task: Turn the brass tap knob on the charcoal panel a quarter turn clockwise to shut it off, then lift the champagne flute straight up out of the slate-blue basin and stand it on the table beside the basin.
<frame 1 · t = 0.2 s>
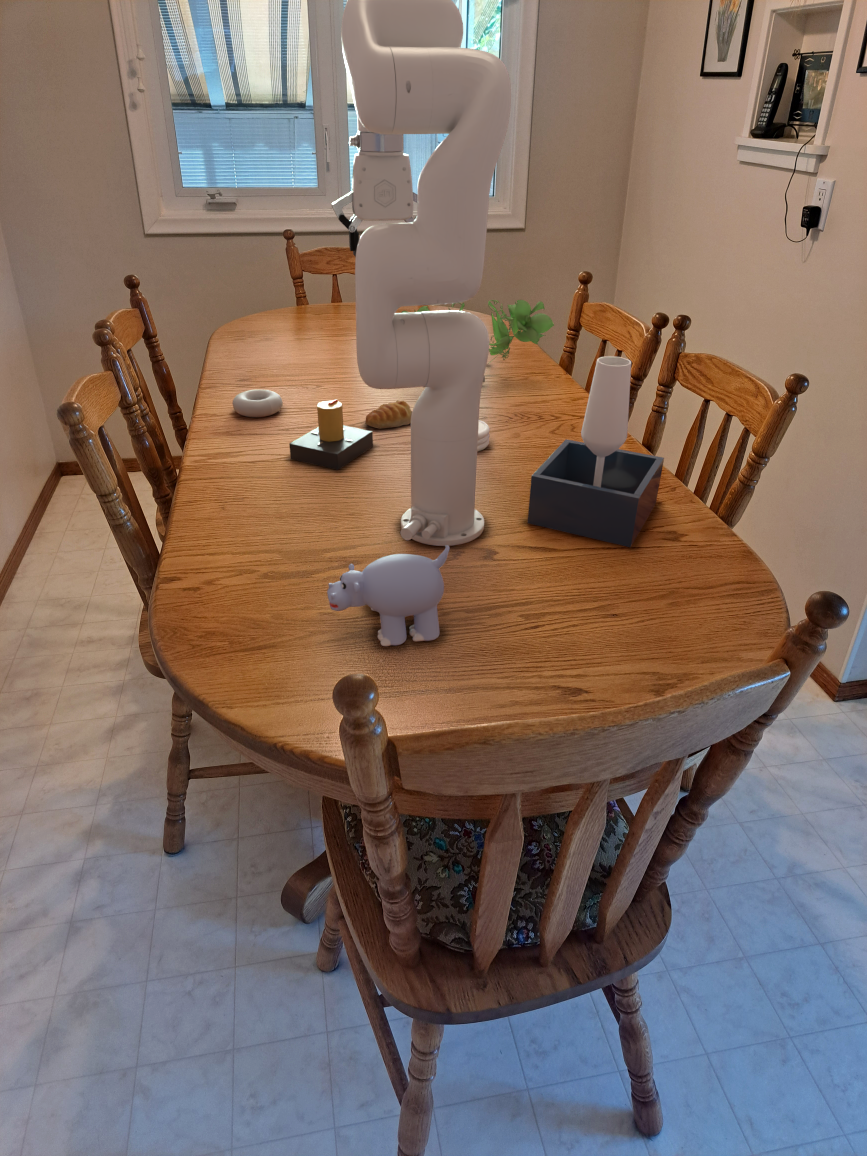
hand: (383, 254, 138), 31 cm above the table, tool pointing down, fingers open, 9 cm apart
basin: (593, 513, 122), on the table
champagne flute: (593, 514, 122), resting in basin
hippopotamus toy: (390, 621, 97), on the table
plant cuttings: (466, 380, 177), on the table
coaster: (462, 444, 145), on the table
donut: (258, 412, 159), on the table
tap knob: (330, 420, 138), point 6 cm above the table, hinge at 0.0°
pastry: (390, 423, 154), on the table
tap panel: (332, 452, 141), on the table
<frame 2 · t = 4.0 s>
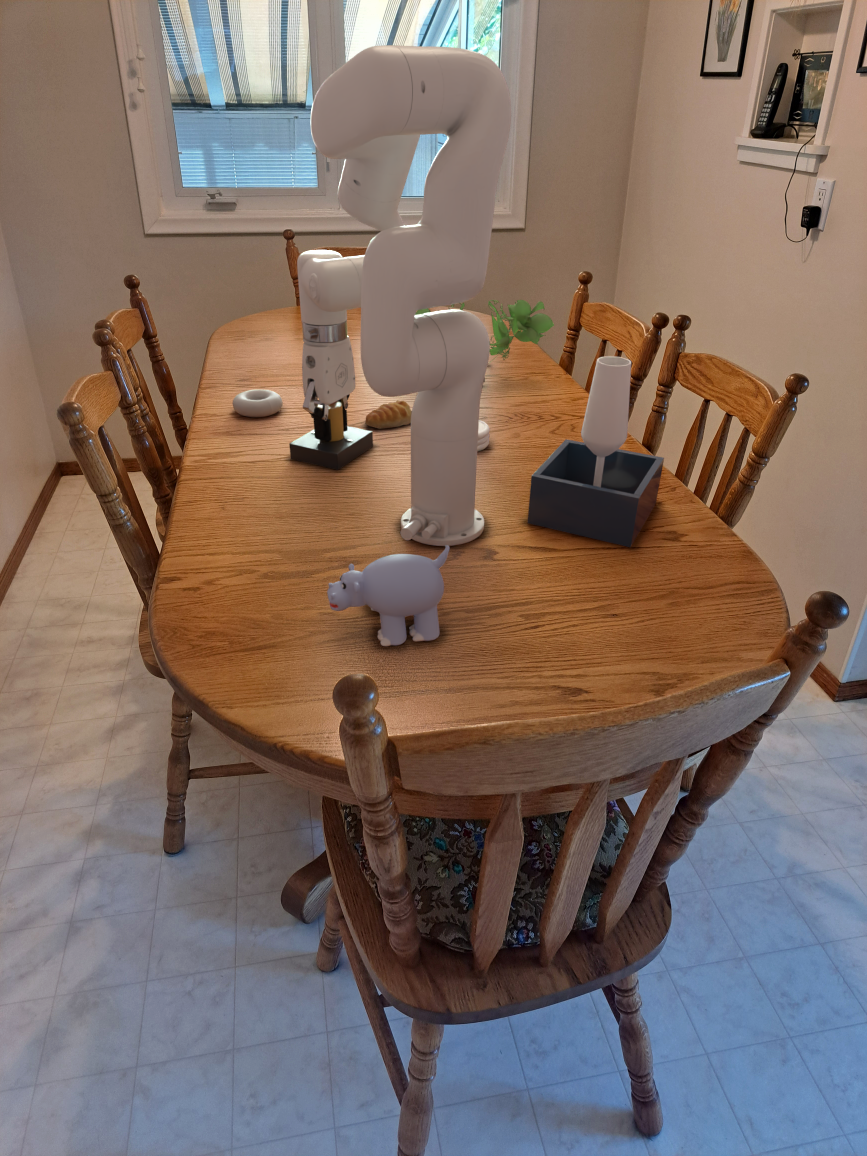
hand: (331, 433, 139), 4 cm above the table, tool pointing down, fingers closed on tap knob, 4 cm apart
tap knob: (330, 420, 138), point 6 cm above the table, hinge at -0.1°, touching gripper
everything else where it was.
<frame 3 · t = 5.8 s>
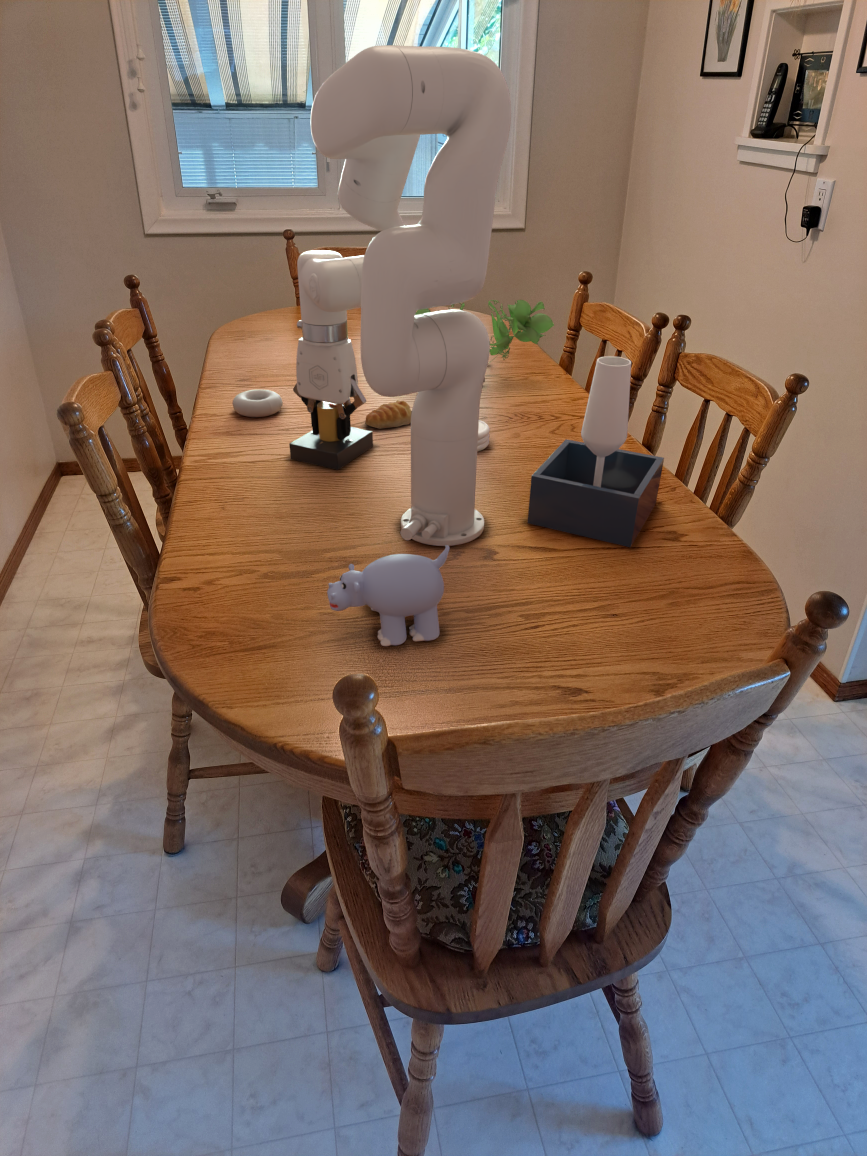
hand: (331, 433, 139), 4 cm above the table, tool pointing down, fingers closed on tap knob, 4 cm apart
tap knob: (330, 420, 138), point 6 cm above the table, hinge at -89.7°, touching gripper
everything else where it was.
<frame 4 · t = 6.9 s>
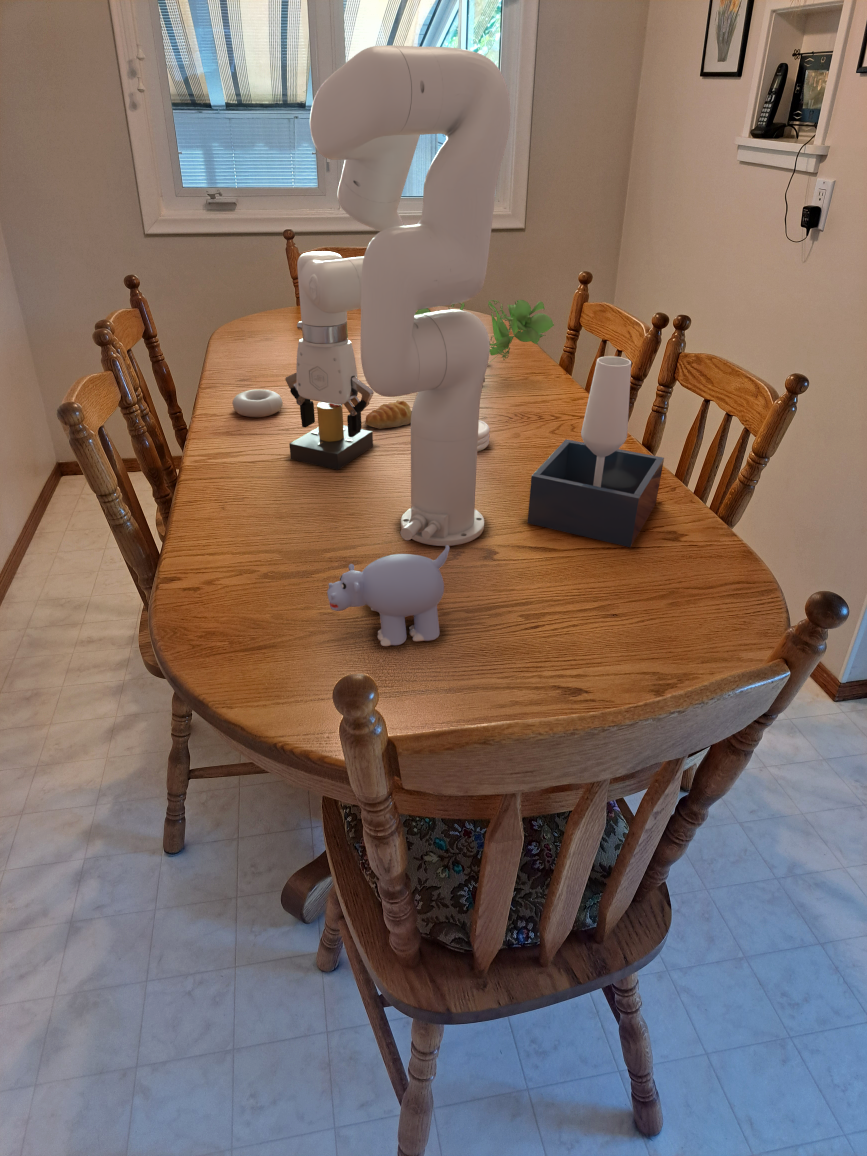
hand: (331, 429, 139), 4 cm above the table, tool pointing down, fingers open, 9 cm apart
tap knob: (330, 420, 138), point 6 cm above the table, hinge at -89.5°
everything else where it was.
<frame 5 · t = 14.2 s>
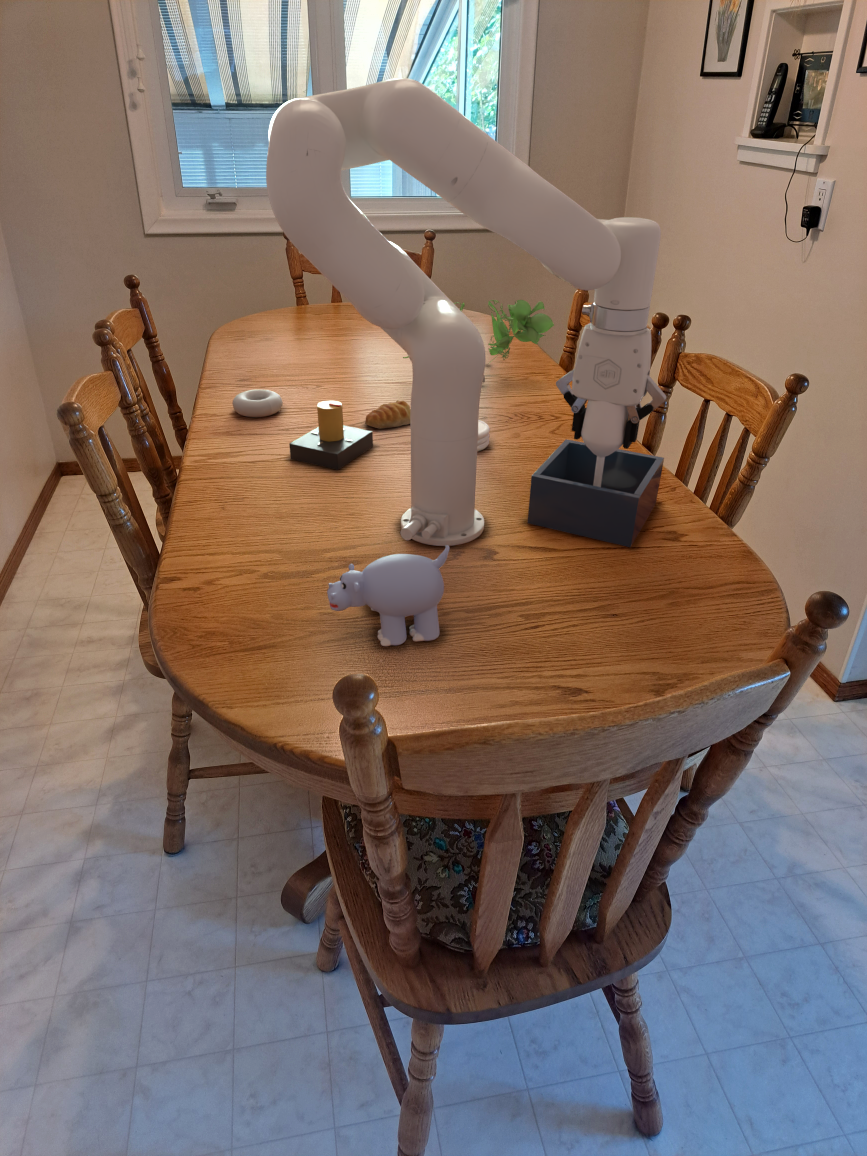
hand: (603, 440, 115), 12 cm above the table, tool pointing down, fingers closed on champagne flute, 6 cm apart
champagne flute: (593, 514, 122), resting in basin, touching gripper
everything else where it was.
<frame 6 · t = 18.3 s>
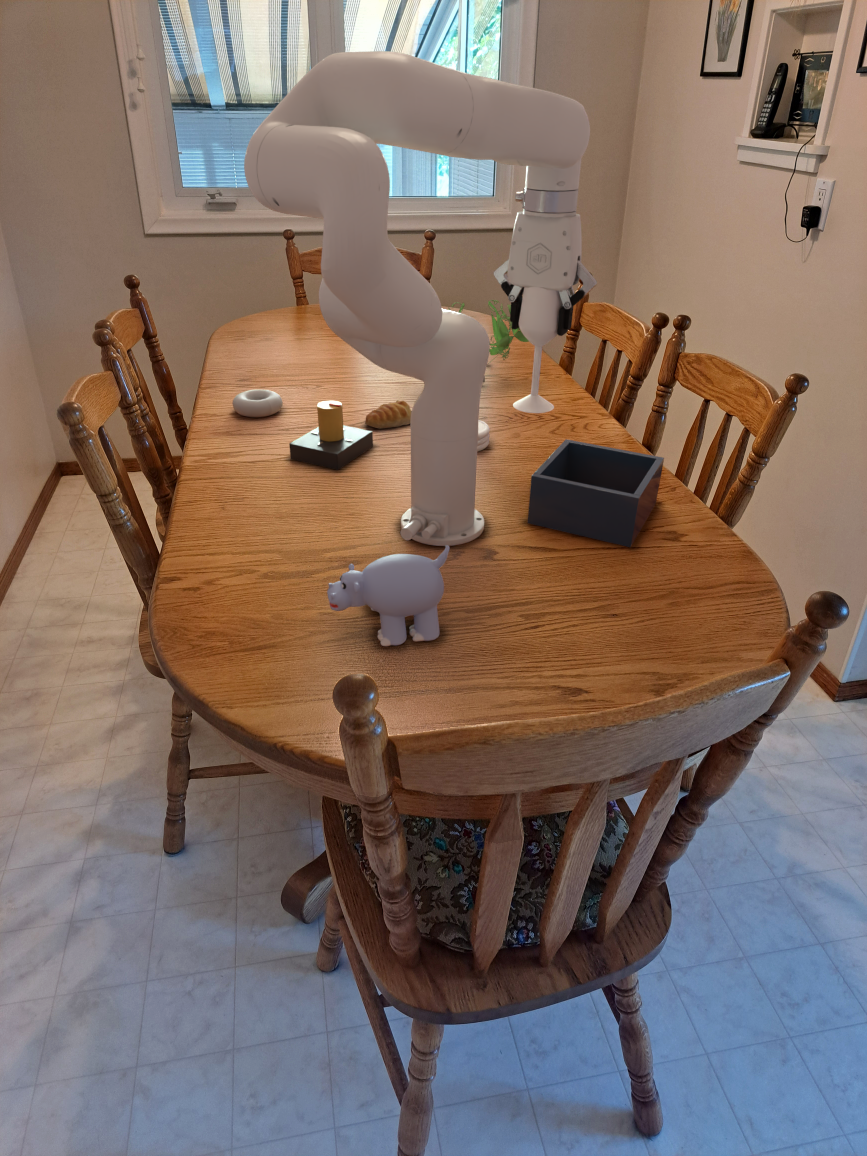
hand: (539, 329, 120), 25 cm above the table, tool pointing down, fingers closed on champagne flute, 6 cm apart
champagne flute: (533, 407, 126), point 12 cm above the table, touching gripper
everything else where it was.
when the fingers open (12 cm above the table, at t = 22.4 s): champagne flute stays where it is, on the table.
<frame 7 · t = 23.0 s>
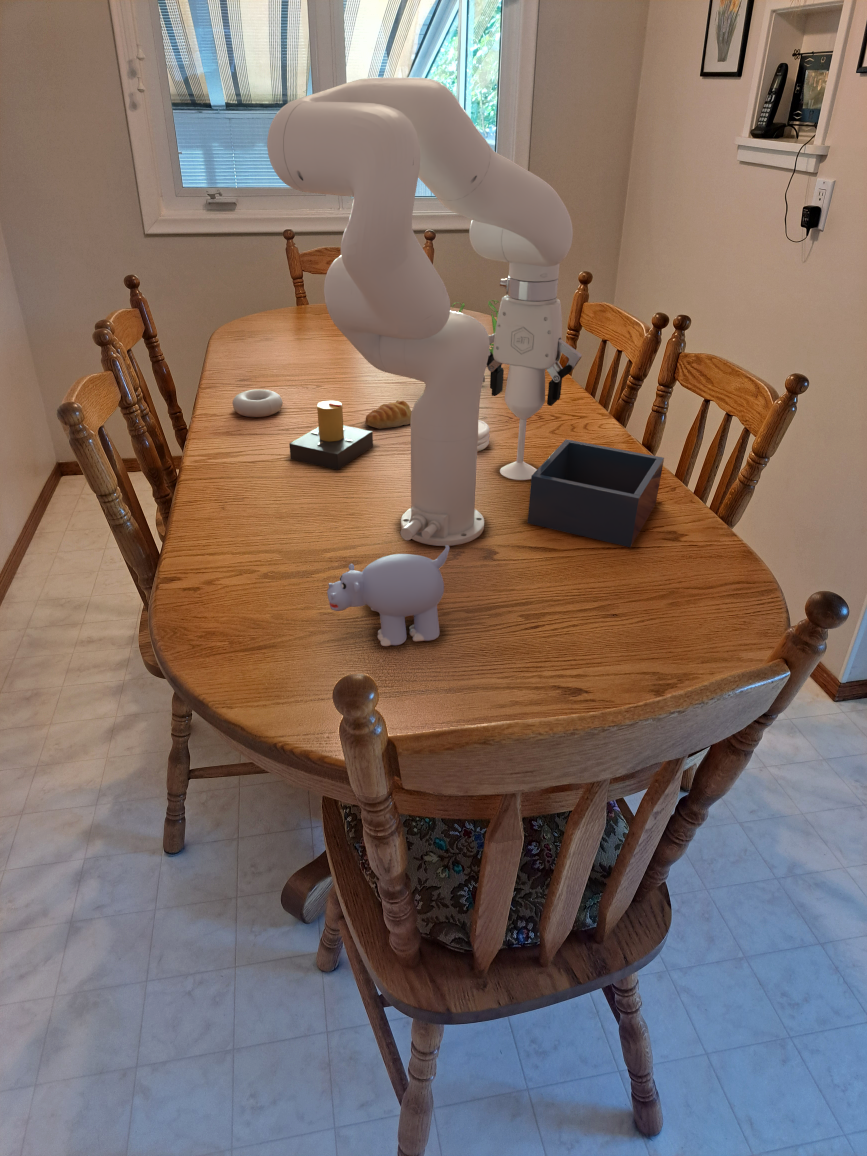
hand: (524, 398, 128), 13 cm above the table, tool pointing down, fingers open, 9 cm apart
champagne flute: (519, 472, 135), on the table
everything else where it was.
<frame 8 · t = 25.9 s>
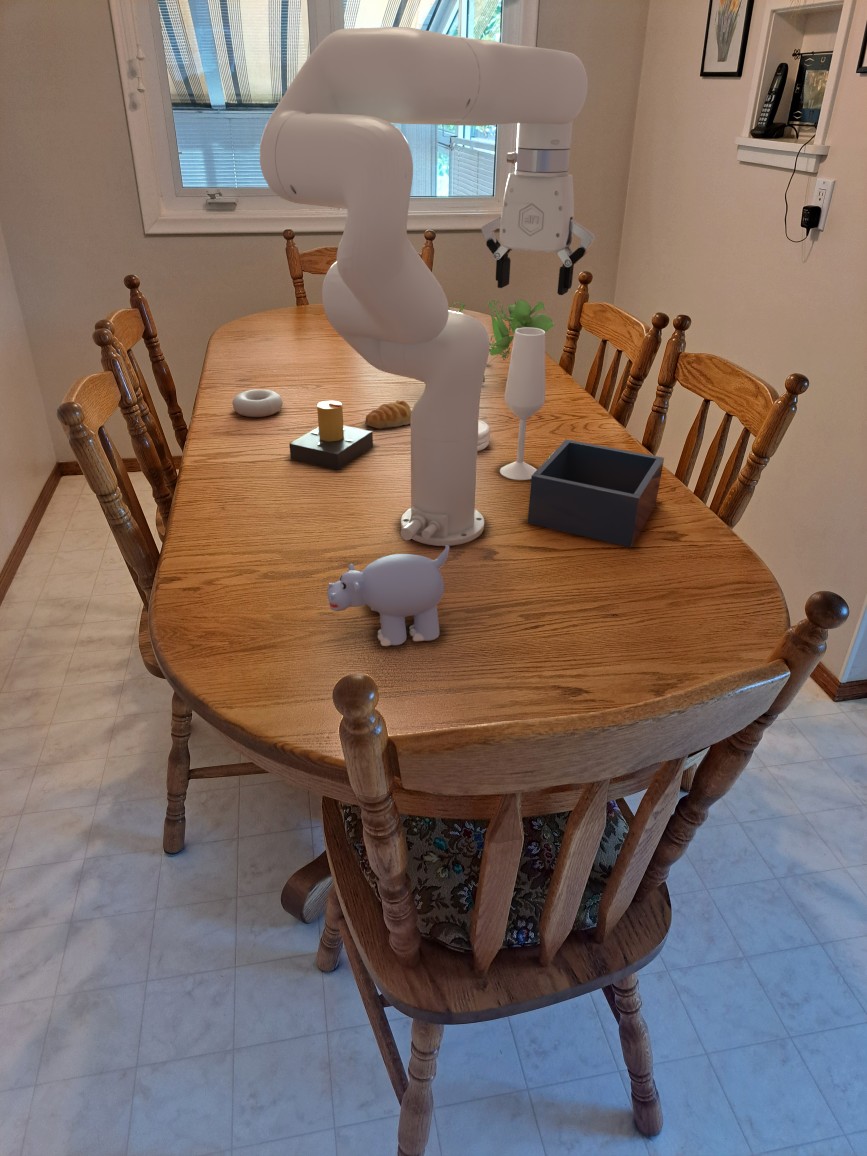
hand: (532, 289, 119), 30 cm above the table, tool pointing down, fingers open, 9 cm apart
nothing on the table moved.
at the end: tap knob at -90° (first picture: +0°); champagne flute inside the target area (0.2 cm from its centre), on the table; champagne flute tilted 0° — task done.
